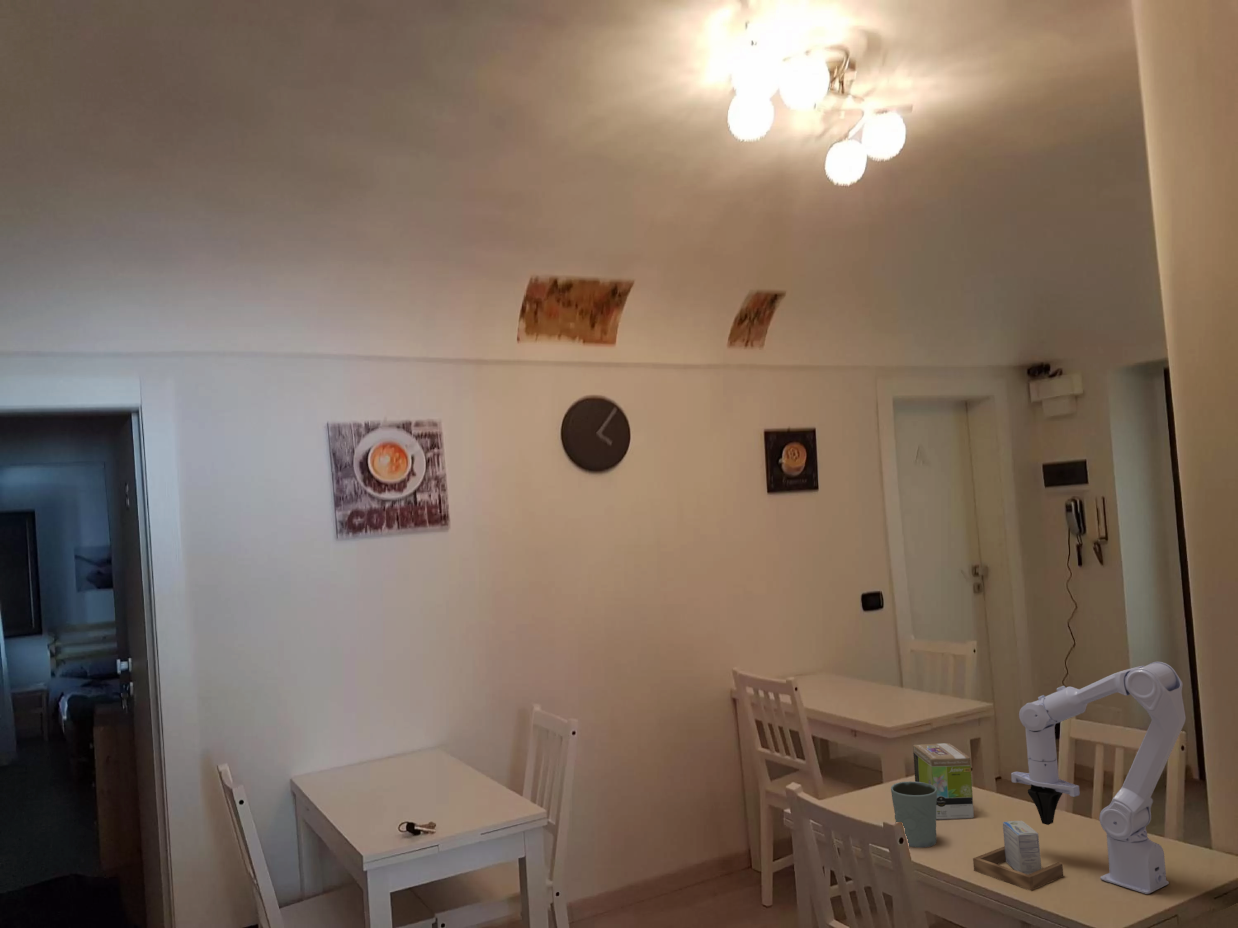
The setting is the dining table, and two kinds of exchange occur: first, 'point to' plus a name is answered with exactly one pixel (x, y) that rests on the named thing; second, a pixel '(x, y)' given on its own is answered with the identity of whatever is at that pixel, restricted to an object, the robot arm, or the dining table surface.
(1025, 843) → the medicine box
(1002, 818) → the dining table surface
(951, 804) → the tea box
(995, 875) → the holder
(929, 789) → the teal cup
